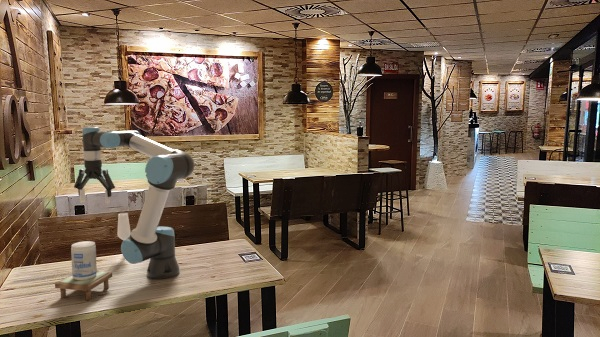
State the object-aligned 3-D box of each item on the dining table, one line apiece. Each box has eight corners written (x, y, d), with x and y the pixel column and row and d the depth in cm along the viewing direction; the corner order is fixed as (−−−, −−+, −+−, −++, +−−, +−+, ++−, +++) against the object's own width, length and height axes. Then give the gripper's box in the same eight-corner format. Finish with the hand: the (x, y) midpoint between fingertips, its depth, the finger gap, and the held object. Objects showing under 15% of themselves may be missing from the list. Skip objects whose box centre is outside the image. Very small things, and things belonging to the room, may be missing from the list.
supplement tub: (73, 282, 182) (71, 248, 180) (71, 275, 190) (69, 243, 188) (99, 278, 188) (97, 245, 186) (95, 271, 196) (93, 239, 194)
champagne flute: (132, 254, 241) (130, 212, 238) (131, 258, 235) (129, 215, 231) (119, 255, 239) (116, 213, 236) (118, 259, 232) (115, 216, 229)
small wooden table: (113, 287, 196) (112, 271, 195) (89, 302, 181) (88, 285, 180) (81, 284, 199) (80, 269, 198) (56, 299, 184) (54, 282, 183)
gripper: (121, 159, 209) (123, 202, 212) (74, 158, 214) (77, 200, 216) (111, 160, 202) (114, 205, 205) (64, 159, 206) (67, 203, 209)
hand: (95, 203), depth 211 cm, fingers open, 13 cm apart
